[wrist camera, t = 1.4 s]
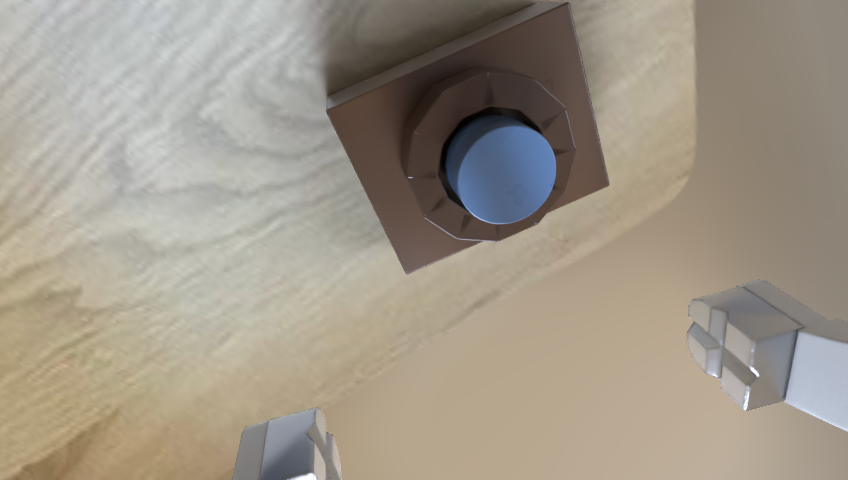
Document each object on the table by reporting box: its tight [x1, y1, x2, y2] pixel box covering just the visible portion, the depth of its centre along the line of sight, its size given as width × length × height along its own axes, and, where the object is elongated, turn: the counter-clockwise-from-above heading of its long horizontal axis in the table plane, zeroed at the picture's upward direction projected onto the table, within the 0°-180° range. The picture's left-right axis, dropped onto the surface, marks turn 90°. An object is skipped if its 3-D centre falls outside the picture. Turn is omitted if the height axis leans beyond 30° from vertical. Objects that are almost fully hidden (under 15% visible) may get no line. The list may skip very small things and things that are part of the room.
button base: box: [326, 2, 609, 274], centre depth 21 cm, size 10×8×5 cm
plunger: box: [445, 114, 556, 224], centre depth 18 cm, size 4×4×2 cm
